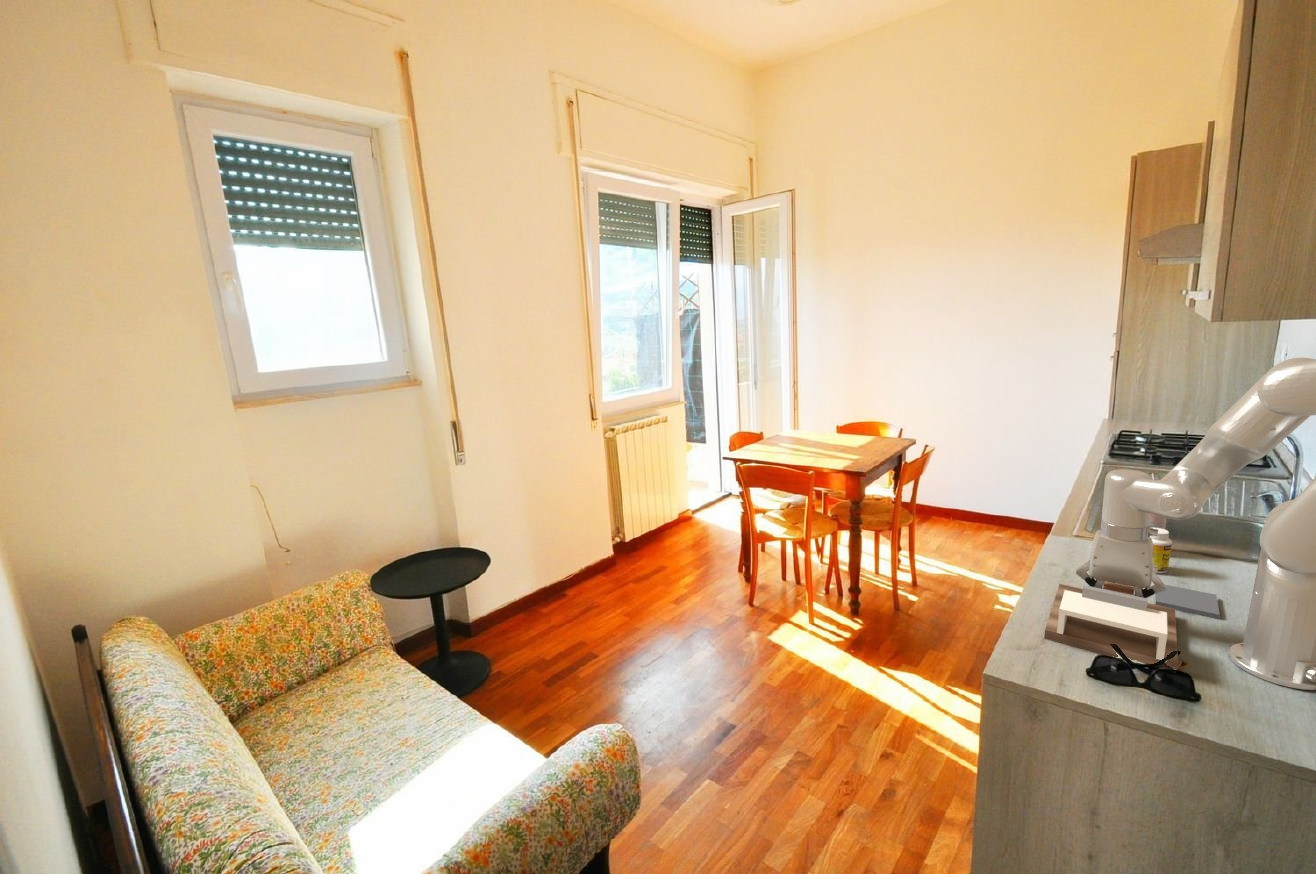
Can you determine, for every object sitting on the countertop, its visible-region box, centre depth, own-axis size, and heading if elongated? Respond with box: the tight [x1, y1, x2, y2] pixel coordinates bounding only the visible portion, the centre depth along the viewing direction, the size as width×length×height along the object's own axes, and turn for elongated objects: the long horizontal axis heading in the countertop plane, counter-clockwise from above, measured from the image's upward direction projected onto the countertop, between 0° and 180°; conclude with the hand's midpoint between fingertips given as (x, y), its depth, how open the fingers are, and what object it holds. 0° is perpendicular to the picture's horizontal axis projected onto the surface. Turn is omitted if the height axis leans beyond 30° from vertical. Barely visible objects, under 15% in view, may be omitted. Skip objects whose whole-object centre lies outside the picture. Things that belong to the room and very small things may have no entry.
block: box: [1102, 581, 1135, 596], centre depth 120 cm, size 5×5×6 cm
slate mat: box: [1155, 584, 1221, 620], centre depth 126 cm, size 10×10×1 cm
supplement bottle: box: [1150, 528, 1173, 575], centre depth 139 cm, size 6×6×10 cm
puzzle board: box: [1043, 583, 1179, 670], centre depth 118 cm, size 23×20×2 cm
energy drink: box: [1149, 514, 1168, 530], centre depth 148 cm, size 5×5×12 cm
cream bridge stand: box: [1057, 584, 1167, 660], centre depth 111 cm, size 9×16×7 cm, turn 50°
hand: (1116, 610), depth 121 cm, fingers closed on block, 5 cm apart
